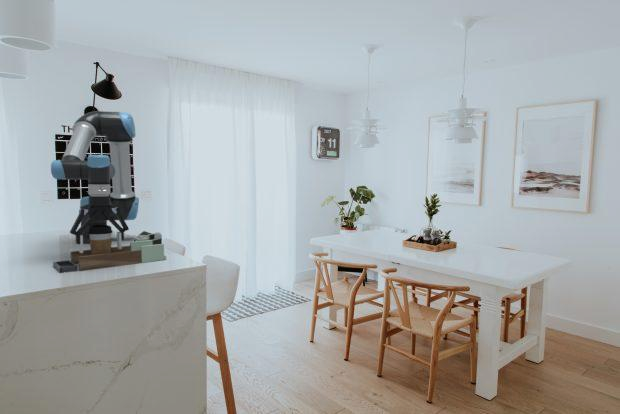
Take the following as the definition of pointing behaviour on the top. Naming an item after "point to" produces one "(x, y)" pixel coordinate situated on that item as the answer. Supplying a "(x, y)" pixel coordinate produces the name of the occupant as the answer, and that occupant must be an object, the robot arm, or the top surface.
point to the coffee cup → (100, 239)
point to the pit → (65, 266)
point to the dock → (149, 250)
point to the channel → (106, 258)
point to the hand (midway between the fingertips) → (100, 250)
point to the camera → (150, 237)
